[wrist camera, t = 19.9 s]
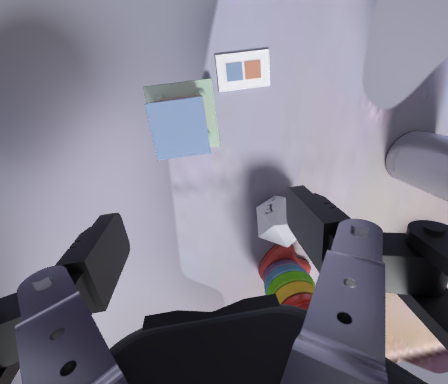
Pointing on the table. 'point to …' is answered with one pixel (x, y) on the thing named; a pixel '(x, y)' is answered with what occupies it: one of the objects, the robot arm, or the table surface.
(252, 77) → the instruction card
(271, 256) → the stacking bear
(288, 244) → the die
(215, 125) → the baseplate
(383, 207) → the table surface
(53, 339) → the robot arm
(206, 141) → the brick blue
